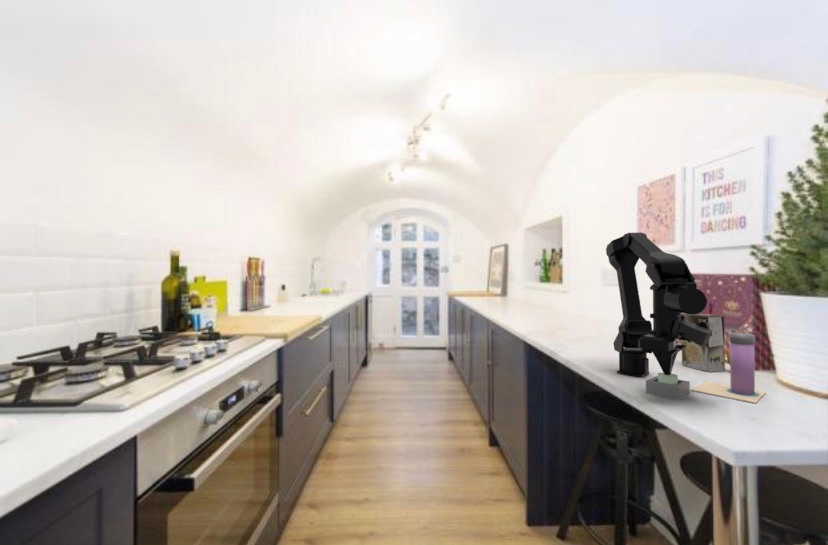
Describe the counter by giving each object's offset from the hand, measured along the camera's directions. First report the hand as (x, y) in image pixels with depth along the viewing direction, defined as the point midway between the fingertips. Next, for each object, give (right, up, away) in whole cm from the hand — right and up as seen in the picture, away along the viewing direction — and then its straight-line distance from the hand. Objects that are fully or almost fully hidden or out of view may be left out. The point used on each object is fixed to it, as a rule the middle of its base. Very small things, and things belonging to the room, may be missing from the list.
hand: (667, 374), depth 93 cm
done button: (0, -4, 0) cm, 4 cm away
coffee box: (+26, -4, +23) cm, 35 cm away
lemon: (+32, -4, +17) cm, 37 cm away
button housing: (0, -5, 0) cm, 5 cm away
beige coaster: (+15, -4, 0) cm, 16 cm away
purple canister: (+17, -4, -1) cm, 18 cm away
